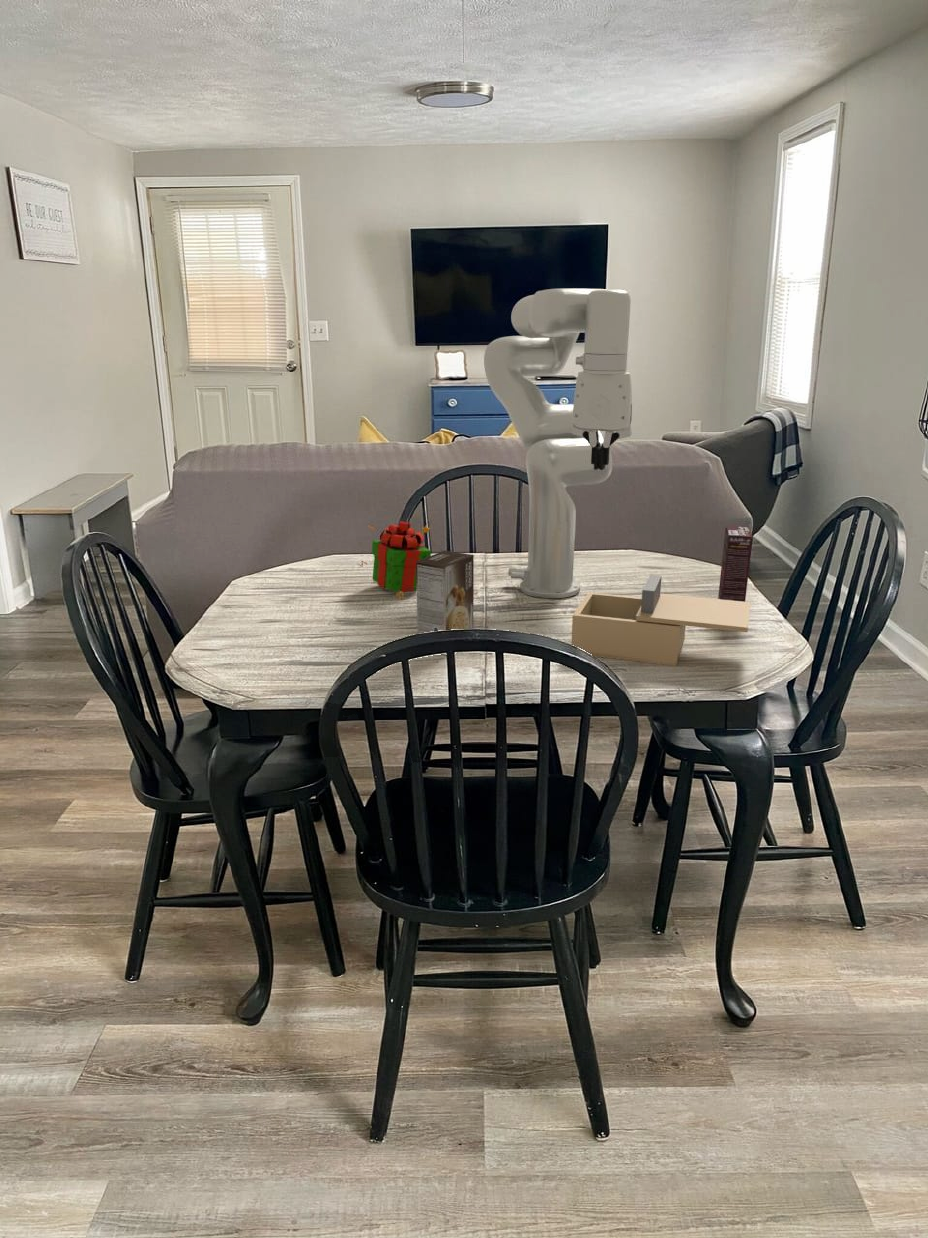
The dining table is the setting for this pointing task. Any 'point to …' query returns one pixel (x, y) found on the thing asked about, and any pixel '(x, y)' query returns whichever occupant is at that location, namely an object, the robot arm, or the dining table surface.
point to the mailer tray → (624, 631)
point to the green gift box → (398, 557)
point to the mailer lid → (691, 609)
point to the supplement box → (735, 563)
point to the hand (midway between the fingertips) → (599, 468)
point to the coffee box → (445, 592)
